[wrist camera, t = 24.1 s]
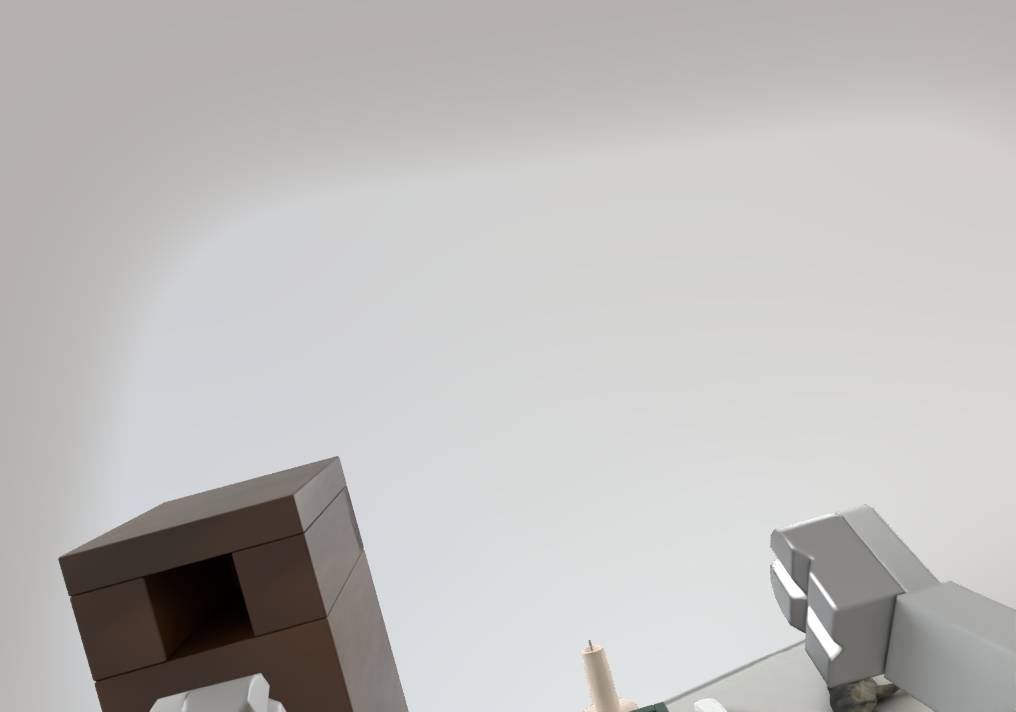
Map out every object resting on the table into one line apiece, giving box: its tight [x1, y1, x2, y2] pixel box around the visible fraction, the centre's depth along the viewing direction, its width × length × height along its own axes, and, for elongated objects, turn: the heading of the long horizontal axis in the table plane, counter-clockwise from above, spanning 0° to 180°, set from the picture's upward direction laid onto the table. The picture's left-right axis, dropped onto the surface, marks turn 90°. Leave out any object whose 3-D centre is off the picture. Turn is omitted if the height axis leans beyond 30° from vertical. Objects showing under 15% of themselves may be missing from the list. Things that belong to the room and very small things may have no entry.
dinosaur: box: [827, 678, 900, 712], centre depth 50 cm, size 4×20×7 cm
